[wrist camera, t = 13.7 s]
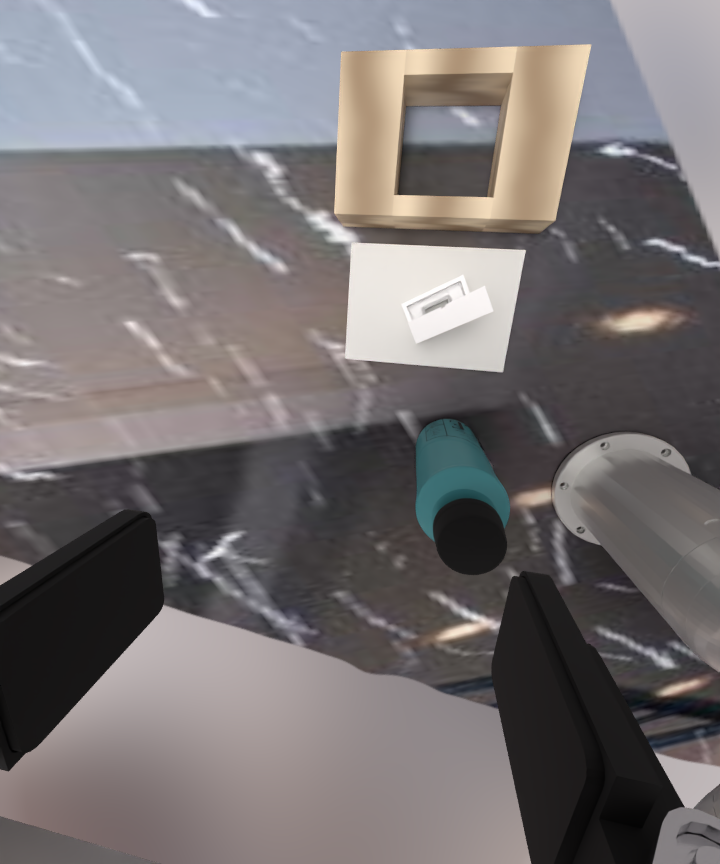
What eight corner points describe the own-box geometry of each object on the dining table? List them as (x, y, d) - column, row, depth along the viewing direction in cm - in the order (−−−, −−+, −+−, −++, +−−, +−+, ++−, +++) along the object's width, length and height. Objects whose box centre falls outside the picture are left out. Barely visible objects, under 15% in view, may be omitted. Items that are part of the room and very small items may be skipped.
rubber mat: (523, 251, 32) (525, 250, 32) (501, 371, 36) (502, 372, 35) (352, 244, 34) (351, 242, 34) (346, 358, 38) (345, 358, 37)
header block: (568, 82, 29) (591, 44, 25) (538, 233, 32) (555, 220, 28) (350, 85, 31) (341, 51, 27) (343, 226, 34) (334, 213, 30)
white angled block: (526, 293, 30) (493, 311, 24) (429, 334, 37) (385, 356, 31) (512, 251, 30) (475, 259, 24) (416, 301, 37) (368, 317, 31)
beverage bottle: (408, 461, 40) (399, 582, 21) (423, 405, 38) (428, 483, 19) (466, 475, 39) (511, 613, 20) (484, 419, 37) (552, 514, 18)
